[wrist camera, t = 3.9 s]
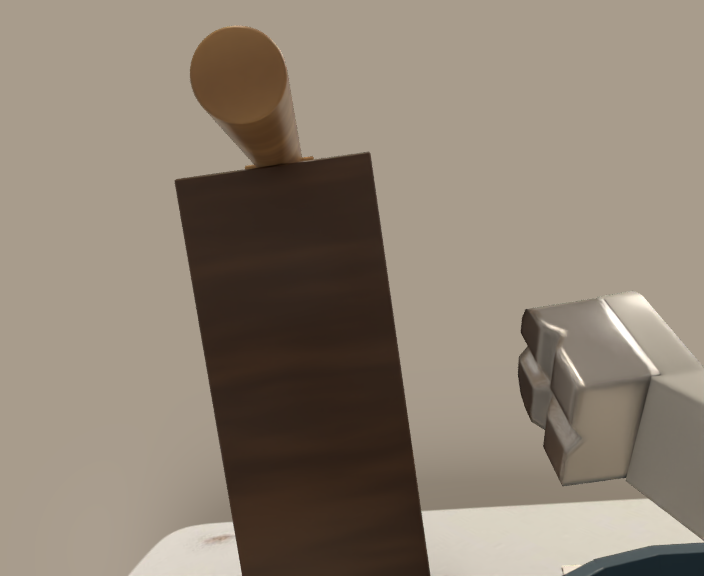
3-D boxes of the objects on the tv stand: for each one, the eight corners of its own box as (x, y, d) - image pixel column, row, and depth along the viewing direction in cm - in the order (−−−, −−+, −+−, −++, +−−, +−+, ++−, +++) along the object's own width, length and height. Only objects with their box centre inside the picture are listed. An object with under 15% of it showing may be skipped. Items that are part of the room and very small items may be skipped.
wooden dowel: (317, 113, 16) (303, 14, 16) (174, 133, 16) (156, 34, 16) (316, 182, 38) (309, 142, 38) (256, 191, 38) (250, 150, 38)
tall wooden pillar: (450, 713, 28) (370, 151, 26) (270, 745, 28) (173, 179, 26) (410, 570, 40) (352, 176, 38) (284, 592, 40) (218, 196, 38)
